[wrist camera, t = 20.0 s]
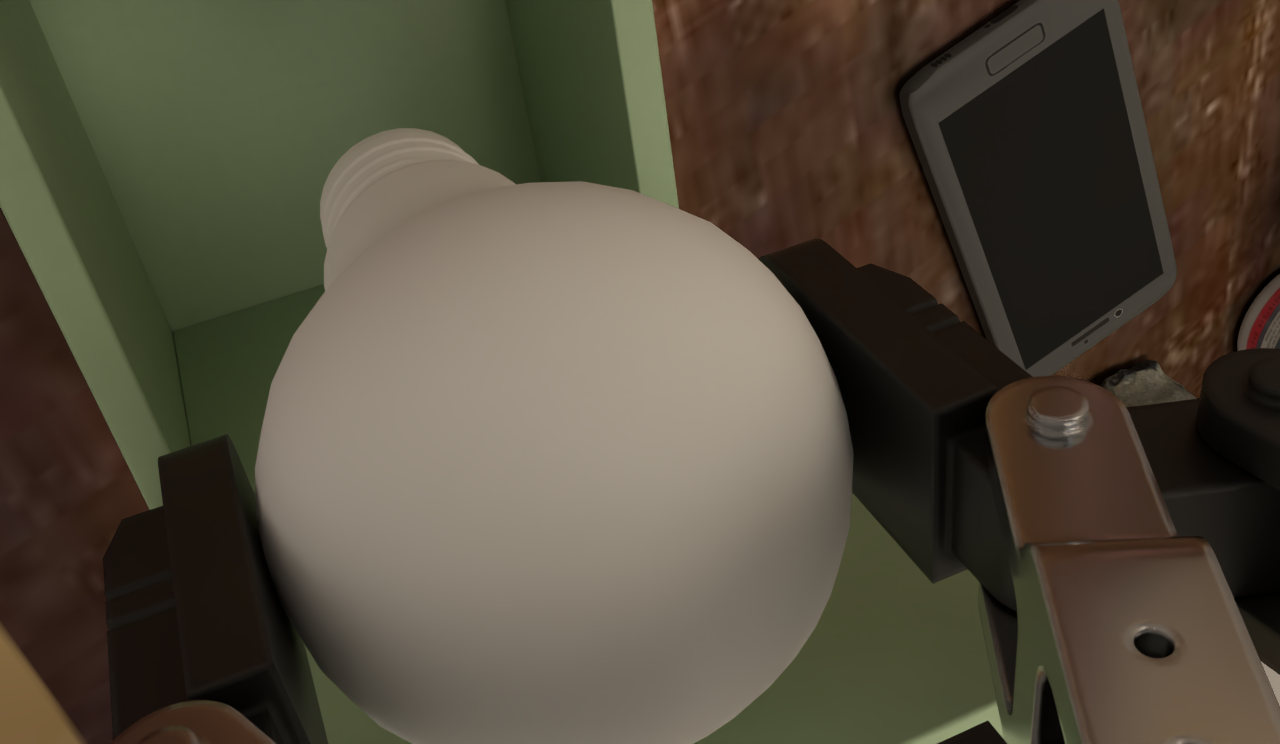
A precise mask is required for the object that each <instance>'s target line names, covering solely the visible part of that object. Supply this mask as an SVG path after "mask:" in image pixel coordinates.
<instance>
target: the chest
mask: <svg viewBox="0 0 1280 744" xmlns="http://www.w3.org/2000/svg"><path fill="white" fill-rule="evenodd" d="M397 128H417V129H422V130H427V131H432V132H434V133H437V134H439V135H442V136H444V137H446V138H448V139H449V140H451V141H452V142H454V143H455V144H457V145H458V146H459V147H460V148H461V149H462V150H463V151H464V152H465V153H467V154H468V155H470V156H471V157H472V158H473V159H474V160H475V161H476V162H477V163H478V164H479V165H481V166H484V167H486V168H489V169H491V170H494V171H496V172H499V173H500V174H502V175H503V176H505V177H506V178H508V179H509V180H511V181H512V182H514V183H515V184H516V185H517V184H524V183H538V182H575V181H583V182H589V183H595V184H600V185H606V186H612V187H617V188H623V189H629V190H633V191H635V192H638V193H640V194H643V195H645V196H648V197H650V198H653V199H655V200H658V201H660V202H663V203H665V204H668V205H670V206H673V207H675V208H677V209H679V206H678V198H677V190H676V183H675V175H674V167H673V159H672V152H671V144H670V136H669V128H668V120H667V113H666V105H665V97H664V89H663V82H662V74H661V66H660V58H659V51H658V43H657V35H656V27H655V20H654V12H653V4H652V0H0V207H1V209H2V211H3V213H4V215H5V217H6V219H7V222H8V224H9V226H10V228H11V230H12V232H13V234H14V236H15V238H16V240H17V242H18V244H19V246H20V248H21V250H22V252H23V254H24V256H25V258H26V260H27V262H28V264H29V266H30V268H31V270H32V272H33V274H34V276H35V278H36V280H37V282H38V284H39V286H40V288H41V290H42V292H43V294H44V296H45V299H46V301H47V303H48V305H49V307H50V309H51V311H52V313H53V315H54V317H55V319H56V321H57V323H58V325H59V327H60V329H61V331H62V333H63V335H64V337H65V339H66V341H67V343H68V345H69V347H70V349H71V351H72V353H73V355H74V357H75V359H76V361H77V363H78V365H79V367H80V369H81V371H82V374H83V376H84V378H85V380H86V382H87V384H88V386H89V388H90V390H91V392H92V394H93V396H94V398H95V400H96V402H97V404H98V406H99V408H100V410H101V412H102V414H103V416H104V418H105V420H106V422H107V424H108V426H109V428H110V430H111V432H112V434H113V436H114V438H115V440H116V442H117V444H118V446H119V448H120V451H121V453H122V455H123V457H124V459H125V461H126V463H127V465H128V467H129V469H130V471H131V473H132V475H133V477H134V479H135V481H136V483H137V485H138V487H139V489H140V491H141V493H142V495H143V497H144V499H145V501H146V503H147V505H148V507H149V509H150V510H151V509H154V508H157V507H160V506H163V501H162V493H161V485H160V477H159V469H158V457H160V456H163V455H166V454H169V453H172V452H175V451H178V450H181V449H184V448H187V447H190V446H193V445H196V444H199V443H202V442H205V441H208V440H211V439H214V438H217V437H219V436H222V435H225V434H228V435H229V437H230V438H231V440H232V442H233V444H234V446H235V449H236V451H237V453H238V456H239V458H240V460H241V463H242V465H243V467H244V470H245V472H246V475H247V477H248V479H249V482H250V484H251V486H252V489H253V491H254V494H255V465H256V459H257V453H258V447H259V441H260V434H261V429H262V424H263V420H264V415H265V410H266V406H267V401H268V396H269V392H270V387H271V383H272V381H273V378H274V376H275V374H276V372H277V370H278V367H279V365H280V363H281V361H282V359H283V356H284V354H285V352H286V350H287V348H288V346H289V343H290V341H291V339H292V337H293V335H294V333H295V332H296V331H297V329H298V328H299V326H300V325H301V324H302V322H303V321H304V320H305V318H306V317H307V316H308V314H309V313H310V311H311V310H312V309H313V307H314V306H315V305H316V303H317V302H318V300H319V299H320V298H321V296H322V295H323V294H324V292H325V288H324V262H325V257H326V253H327V248H326V245H325V241H324V236H323V231H322V224H321V220H320V200H321V196H322V191H323V187H324V184H325V182H326V180H327V178H328V175H329V173H330V171H331V170H332V168H333V167H334V166H335V164H336V163H337V161H338V160H339V159H340V158H341V157H342V156H343V155H344V154H345V153H346V152H347V151H348V150H349V149H350V148H351V147H353V146H354V145H356V144H357V143H359V142H360V141H362V140H364V139H365V138H367V137H370V136H372V135H375V134H377V133H380V132H382V131H387V130H392V129H397Z"/></svg>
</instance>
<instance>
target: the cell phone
mask: <svg viewBox="0 0 1280 744" xmlns="http://www.w3.org/2000/svg"><path fill="white" fill-rule="evenodd" d="M899 98H900V104H901V109H902V114H903V118H904V120H905V123H906V126H907V128H908V131H909V134H910V136H911V139H912V142H913V144H914V147H915V150H916V152H917V155H918V158H919V160H920V163H921V166H922V168H923V171H924V174H925V176H926V179H927V182H928V184H929V187H930V190H931V192H932V195H933V198H934V200H935V203H936V206H937V208H938V211H939V214H940V216H941V219H942V222H943V224H944V227H945V230H946V232H947V235H948V238H949V240H950V243H951V246H952V248H953V251H954V254H955V256H956V259H957V262H958V264H959V267H960V270H961V272H962V275H963V278H964V280H965V283H966V286H967V288H968V291H969V294H970V296H971V299H972V302H973V304H974V307H975V310H976V312H977V315H978V318H979V320H980V323H981V326H982V328H983V331H984V334H985V336H986V339H987V340H988V341H989V342H990V343H991V344H993V345H994V346H995V347H996V348H998V349H999V350H1000V351H1001V352H1003V353H1004V354H1005V355H1006V356H1007V357H1009V358H1010V359H1011V360H1012V361H1014V362H1015V363H1016V364H1017V365H1019V366H1020V367H1021V368H1022V369H1024V370H1025V371H1026V372H1027V373H1029V374H1030V375H1031V376H1032V377H1038V376H1052V375H1053V374H1054V373H1056V372H1057V371H1059V370H1060V369H1061V368H1063V367H1064V366H1066V365H1067V364H1069V363H1070V362H1071V361H1073V360H1074V359H1076V358H1077V357H1079V356H1080V355H1081V354H1083V353H1084V352H1086V351H1087V350H1088V349H1090V348H1091V347H1093V346H1094V345H1096V344H1097V343H1098V342H1100V341H1101V340H1103V339H1104V338H1106V337H1107V336H1108V335H1110V334H1111V333H1113V332H1114V331H1115V330H1117V329H1118V328H1120V327H1121V326H1123V325H1124V324H1125V323H1127V322H1128V321H1130V320H1131V319H1133V318H1134V317H1135V316H1137V315H1138V314H1140V313H1141V312H1142V311H1144V310H1145V309H1147V308H1148V307H1150V306H1151V305H1152V304H1154V303H1155V302H1157V301H1158V300H1159V299H1160V298H1161V297H1162V296H1163V295H1164V294H1165V293H1166V292H1167V291H1168V290H1169V289H1170V288H1171V287H1172V286H1173V285H1174V282H1175V278H1176V273H1177V267H1176V262H1175V257H1174V251H1173V246H1172V242H1171V237H1170V233H1169V228H1168V224H1167V219H1166V214H1165V210H1164V205H1163V201H1162V196H1161V192H1160V187H1159V183H1158V178H1157V174H1156V169H1155V164H1154V160H1153V155H1152V151H1151V146H1150V142H1149V137H1148V133H1147V128H1146V124H1145V119H1144V114H1143V110H1142V105H1141V101H1140V96H1139V92H1138V87H1137V83H1136V78H1135V74H1134V69H1133V64H1132V60H1131V55H1130V51H1129V46H1128V42H1127V37H1126V33H1125V28H1124V24H1123V19H1122V14H1121V10H1120V5H1119V1H1118V0H1020V1H1018V2H1017V3H1015V4H1014V5H1012V6H1011V7H1010V8H1008V9H1007V10H1005V11H1004V12H1002V13H1001V14H999V15H998V16H997V17H995V18H994V19H992V20H991V21H989V22H988V23H986V24H985V25H984V26H982V27H981V28H979V29H978V30H976V31H975V32H973V33H972V34H971V35H969V36H968V37H966V38H965V39H963V40H962V41H960V42H959V43H958V44H956V45H955V46H953V47H952V48H950V49H949V50H947V51H946V52H944V53H943V54H942V55H940V56H939V57H937V58H936V59H934V60H933V61H931V62H930V63H929V64H927V65H926V66H924V67H923V68H921V69H920V70H919V71H918V72H917V73H916V74H915V75H914V76H912V77H911V78H910V79H909V80H908V81H907V82H906V83H905V84H904V86H903V88H902V89H901V91H900V95H899Z"/></svg>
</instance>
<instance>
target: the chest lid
mask: <svg viewBox="0 0 1280 744" xmlns="http://www.w3.org/2000/svg"><path fill="white" fill-rule="evenodd" d="M978 588H979V581H978V580H977V579H976V578H975V577H974V575H973V574H972V573H971V572H970V571H969V570H968V569H967V570H965V571H962V572H960V573H958V574H955V575H953V576H951V577H948V578H946V579H943V580H941V581H939V582H936V583H934V584H933V583H932V582H931V581H930V580H929V579H928V578H927V577H926V575H925V574H924V573H923V572H922V571H921V570H920V569H919V567H918V566H917V565H916V564H915V563H914V562H913V561H912V560H911V558H910V557H909V556H908V555H907V554H906V553H905V552H904V551H903V549H902V548H901V547H900V546H899V545H898V544H897V543H896V541H895V540H894V539H893V538H892V537H891V536H890V535H889V534H888V532H887V531H886V530H885V529H884V528H883V527H882V526H881V524H880V523H879V522H878V521H877V520H876V519H875V518H874V517H873V515H872V514H871V513H870V512H869V511H868V510H867V509H866V508H865V506H864V505H863V504H862V503H861V502H860V501H859V500H858V498H857V497H856V496H855V495H854V494H853V493H852V500H851V517H850V529H849V533H848V537H847V541H846V544H845V548H844V552H843V556H842V559H841V563H840V567H839V570H838V573H837V576H836V580H835V583H834V586H833V589H832V593H831V596H830V598H829V600H828V602H827V604H826V606H825V608H824V611H823V613H822V615H821V617H820V619H819V621H818V623H817V626H816V628H815V629H814V631H813V632H812V634H811V635H810V637H809V638H808V640H807V641H806V642H805V644H804V645H803V647H802V648H801V650H800V651H799V653H798V654H797V656H796V657H795V659H794V660H793V661H792V662H791V663H790V664H789V666H788V667H787V668H786V669H785V670H784V671H783V672H782V673H781V675H780V676H779V677H778V678H777V679H776V680H775V681H774V682H773V684H772V685H771V686H770V687H769V688H768V689H767V690H766V691H764V692H763V693H762V694H761V695H760V696H759V697H758V698H756V699H755V700H754V701H753V702H752V703H751V704H750V705H748V706H747V707H746V708H745V709H744V710H743V711H742V712H740V713H739V714H738V715H737V716H736V717H735V718H733V719H732V720H730V721H729V722H727V723H726V724H725V725H723V726H722V727H720V728H719V729H717V730H716V731H714V732H713V733H711V734H710V735H708V736H707V737H705V738H703V739H701V740H699V741H697V742H695V743H694V744H937V743H939V742H942V741H944V740H946V739H948V738H950V737H953V736H955V735H957V734H959V733H961V732H964V731H966V730H968V729H970V728H972V727H974V726H977V725H979V724H981V723H983V722H985V721H989V722H990V723H991V724H992V726H993V727H994V728H995V729H996V730H997V732H998V733H999V734H1000V735H1001V737H1002V738H1003V739H1004V737H1003V732H1002V726H1001V721H1000V716H999V711H998V706H997V701H996V696H995V691H994V686H993V681H992V676H991V671H990V666H989V660H988V655H987V650H986V645H985V640H984V635H983V630H982V625H981V620H980V615H979V609H978ZM305 649H306V653H307V657H308V661H309V665H310V669H311V674H312V678H313V682H314V686H315V690H316V694H317V698H318V703H319V707H320V711H321V715H322V719H323V723H324V727H325V732H326V736H327V740H328V744H412V743H410V742H408V741H406V740H404V739H402V738H401V737H399V736H397V735H395V734H393V733H391V732H389V731H387V730H386V729H384V728H382V727H380V726H379V725H378V724H377V723H376V722H374V721H373V720H372V719H371V718H370V717H369V716H368V715H367V714H366V713H365V712H363V711H362V710H361V709H360V708H359V707H358V706H357V705H356V704H355V703H354V702H353V701H351V700H350V699H349V698H348V697H347V696H346V695H345V694H344V693H343V692H342V691H341V690H340V689H339V688H338V687H337V686H336V685H335V684H334V683H333V682H332V681H331V680H330V679H329V678H328V677H327V676H326V675H325V674H324V673H323V672H322V671H321V669H320V668H319V666H318V665H317V663H316V661H315V660H314V658H313V657H312V655H311V653H310V652H309V650H308V649H307V647H306V646H305Z"/></svg>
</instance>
